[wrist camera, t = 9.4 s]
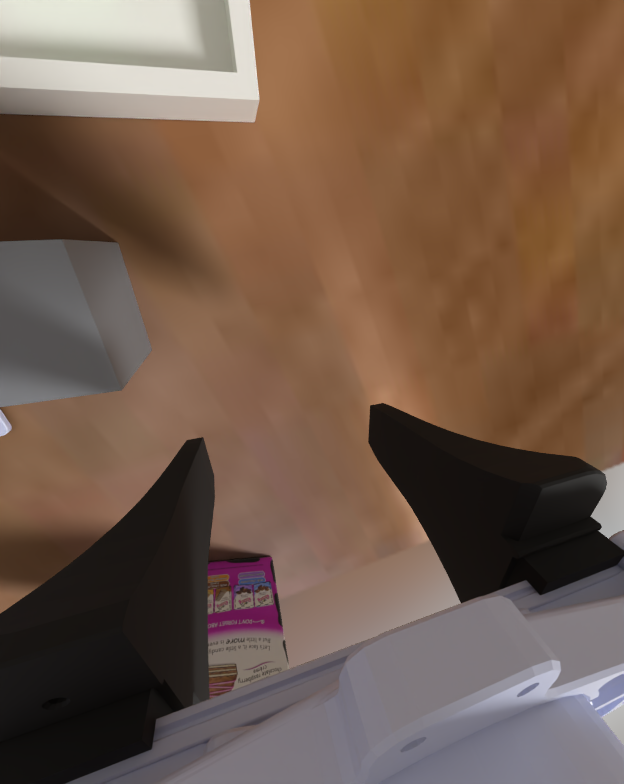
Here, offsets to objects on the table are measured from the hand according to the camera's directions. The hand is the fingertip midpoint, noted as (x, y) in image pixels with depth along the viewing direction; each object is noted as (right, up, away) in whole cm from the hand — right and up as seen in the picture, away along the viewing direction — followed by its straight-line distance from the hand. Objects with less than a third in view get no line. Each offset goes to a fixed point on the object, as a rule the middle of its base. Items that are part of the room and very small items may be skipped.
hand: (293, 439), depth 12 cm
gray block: (-12, +7, +4) cm, 15 cm away
